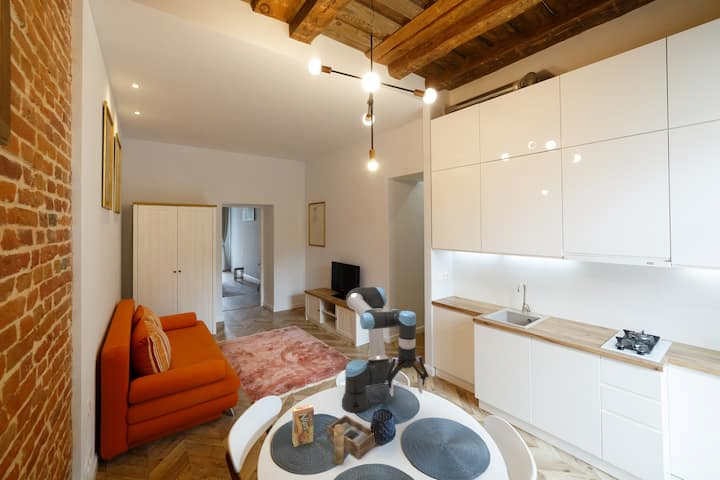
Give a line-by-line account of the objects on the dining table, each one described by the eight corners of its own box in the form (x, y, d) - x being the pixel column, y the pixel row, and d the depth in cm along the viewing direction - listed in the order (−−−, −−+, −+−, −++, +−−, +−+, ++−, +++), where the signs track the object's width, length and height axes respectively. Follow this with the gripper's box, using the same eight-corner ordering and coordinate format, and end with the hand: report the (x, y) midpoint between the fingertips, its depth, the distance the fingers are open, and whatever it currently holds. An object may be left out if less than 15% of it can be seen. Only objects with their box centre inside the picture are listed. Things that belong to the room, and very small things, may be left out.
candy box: (310, 436, 138) (311, 403, 138) (313, 442, 134) (314, 408, 134) (291, 441, 134) (292, 408, 134) (294, 448, 130) (294, 413, 130)
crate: (327, 438, 137) (327, 426, 136) (345, 426, 146) (345, 415, 146) (358, 459, 124) (358, 446, 124) (375, 444, 133) (376, 432, 133)
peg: (331, 461, 123) (332, 427, 123) (338, 455, 126) (339, 423, 126) (338, 466, 120) (339, 431, 120) (345, 460, 123) (346, 427, 123)
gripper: (382, 351, 127) (381, 400, 128) (436, 348, 132) (435, 395, 132) (377, 344, 135) (377, 391, 135) (429, 342, 139) (428, 387, 139)
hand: (405, 393), depth 134 cm, fingers open, 13 cm apart
